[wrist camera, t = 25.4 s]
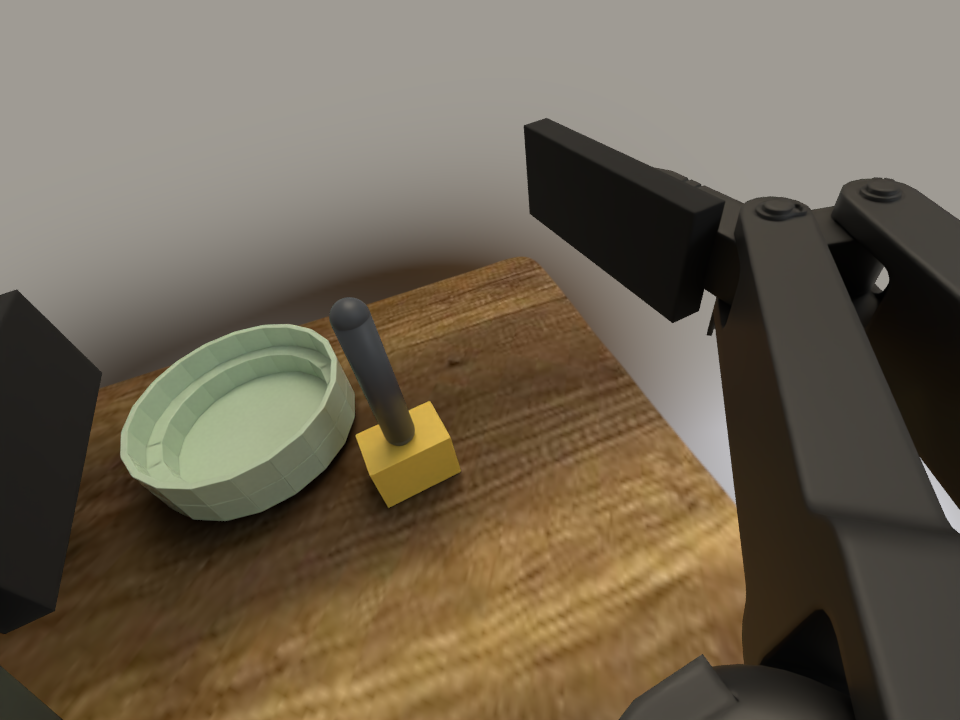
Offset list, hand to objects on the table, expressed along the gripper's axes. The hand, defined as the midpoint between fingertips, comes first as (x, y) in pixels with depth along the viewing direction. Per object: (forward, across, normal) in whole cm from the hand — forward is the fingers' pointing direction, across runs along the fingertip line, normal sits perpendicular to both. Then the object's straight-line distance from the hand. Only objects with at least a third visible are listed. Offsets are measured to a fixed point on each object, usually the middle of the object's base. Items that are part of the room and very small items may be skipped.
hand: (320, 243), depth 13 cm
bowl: (+20, -11, -25) cm, 34 cm away
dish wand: (+10, 0, -25) cm, 27 cm away
